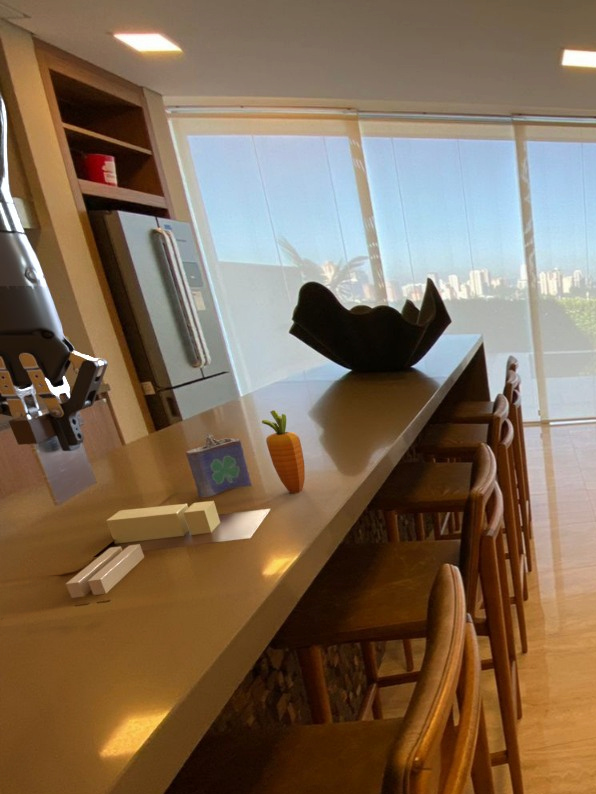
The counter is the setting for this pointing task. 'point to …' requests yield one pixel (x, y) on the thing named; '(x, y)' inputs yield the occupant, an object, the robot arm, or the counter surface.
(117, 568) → the rest
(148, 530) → the butter
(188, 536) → the board
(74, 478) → the dough scraper
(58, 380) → the robot arm
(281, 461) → the carrot
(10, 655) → the counter surface
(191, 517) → the butter slice
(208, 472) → the flask
